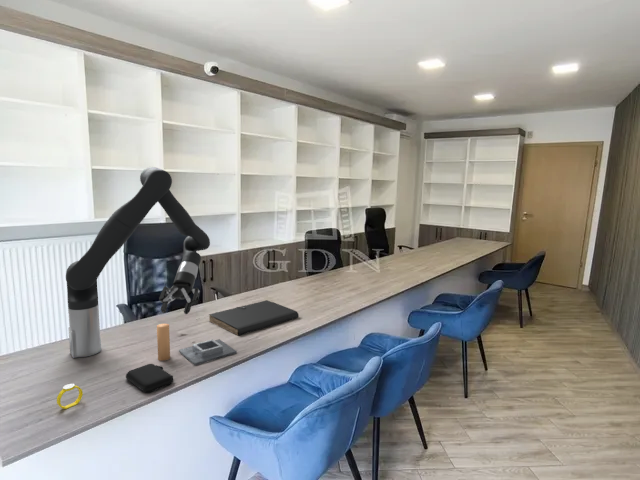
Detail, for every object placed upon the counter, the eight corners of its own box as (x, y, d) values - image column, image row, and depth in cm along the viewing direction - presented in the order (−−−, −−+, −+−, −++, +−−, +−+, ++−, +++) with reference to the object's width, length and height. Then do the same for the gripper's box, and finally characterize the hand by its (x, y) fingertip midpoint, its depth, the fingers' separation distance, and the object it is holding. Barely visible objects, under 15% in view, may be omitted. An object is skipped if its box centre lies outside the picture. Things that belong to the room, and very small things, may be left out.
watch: (61, 413, 102) (58, 393, 101) (56, 410, 103) (53, 390, 102) (85, 401, 107) (82, 382, 106) (80, 398, 108) (77, 379, 107)
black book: (266, 299, 196) (298, 311, 179) (266, 307, 196) (298, 319, 180) (208, 313, 172) (239, 328, 156) (208, 322, 173) (239, 338, 156)
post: (160, 361, 132) (159, 328, 130) (156, 357, 135) (155, 325, 133) (171, 358, 135) (170, 326, 133) (167, 354, 138) (166, 322, 136)
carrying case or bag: (179, 383, 119) (156, 368, 128) (179, 373, 119) (155, 359, 128) (145, 396, 111) (123, 379, 120) (145, 387, 110) (123, 370, 120)
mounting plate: (194, 365, 130) (194, 357, 129) (178, 351, 140) (178, 344, 140) (236, 353, 140) (236, 345, 140) (219, 341, 151) (219, 334, 150)
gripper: (165, 269, 149) (151, 307, 139) (201, 271, 148) (189, 309, 138) (172, 280, 155) (159, 316, 145) (206, 281, 154) (195, 318, 144)
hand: (174, 312), depth 142 cm, fingers open, 8 cm apart
